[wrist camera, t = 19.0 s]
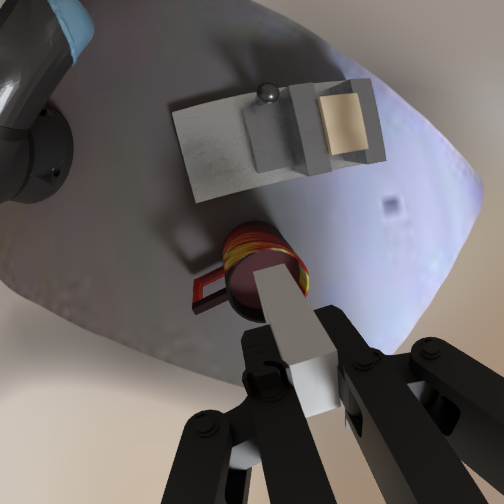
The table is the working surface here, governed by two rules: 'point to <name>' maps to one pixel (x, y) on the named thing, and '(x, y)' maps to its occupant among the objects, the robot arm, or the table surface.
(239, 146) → the vise bed
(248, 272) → the mug
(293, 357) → the robot arm
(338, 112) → the block
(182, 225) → the table surface
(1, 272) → the table surface
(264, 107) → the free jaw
